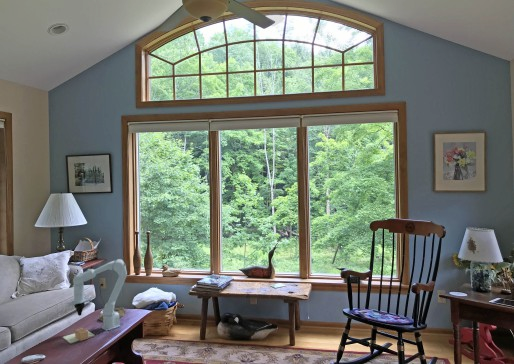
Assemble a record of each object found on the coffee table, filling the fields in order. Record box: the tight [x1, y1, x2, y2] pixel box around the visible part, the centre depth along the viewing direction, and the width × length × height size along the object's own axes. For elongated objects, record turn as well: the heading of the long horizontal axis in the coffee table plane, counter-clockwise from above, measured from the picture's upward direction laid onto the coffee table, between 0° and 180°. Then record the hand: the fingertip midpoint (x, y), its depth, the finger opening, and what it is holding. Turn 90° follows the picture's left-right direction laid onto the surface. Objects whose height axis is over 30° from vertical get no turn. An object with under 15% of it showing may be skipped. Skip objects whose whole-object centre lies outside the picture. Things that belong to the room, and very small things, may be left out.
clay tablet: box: [98, 306, 127, 322], centre depth 260 cm, size 14×5×20 cm
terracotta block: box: [74, 327, 89, 342], centre depth 224 cm, size 4×4×8 cm
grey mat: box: [62, 330, 95, 344], centre depth 227 cm, size 14×12×1 cm
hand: (79, 315), depth 235 cm, fingers closed
